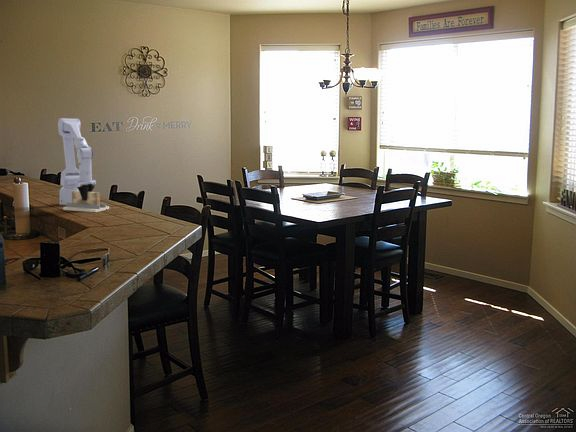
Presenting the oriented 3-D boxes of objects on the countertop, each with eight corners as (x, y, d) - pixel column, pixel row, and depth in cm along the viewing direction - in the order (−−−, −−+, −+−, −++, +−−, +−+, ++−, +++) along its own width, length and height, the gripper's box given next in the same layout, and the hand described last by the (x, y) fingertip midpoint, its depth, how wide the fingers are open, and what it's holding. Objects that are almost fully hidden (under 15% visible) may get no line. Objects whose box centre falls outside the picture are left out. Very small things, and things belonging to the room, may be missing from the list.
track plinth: (63, 209, 290) (62, 203, 290) (77, 206, 302) (77, 200, 301) (95, 212, 286) (95, 206, 286) (109, 208, 297) (109, 202, 297)
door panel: (72, 205, 294) (71, 191, 293) (74, 204, 296) (74, 190, 295) (97, 207, 291) (97, 192, 290) (99, 206, 293) (99, 192, 292)
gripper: (84, 174, 283) (84, 202, 285) (101, 171, 297) (101, 198, 299) (71, 173, 285) (71, 201, 287) (88, 171, 299) (89, 197, 301)
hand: (86, 200), depth 293 cm, fingers closed on door panel, 2 cm apart
